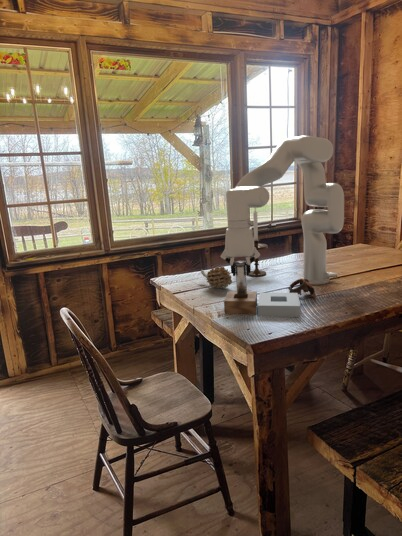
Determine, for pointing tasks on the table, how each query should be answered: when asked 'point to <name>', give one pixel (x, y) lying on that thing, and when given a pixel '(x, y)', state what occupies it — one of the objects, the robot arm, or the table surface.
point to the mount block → (240, 303)
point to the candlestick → (258, 246)
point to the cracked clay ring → (302, 287)
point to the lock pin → (241, 277)
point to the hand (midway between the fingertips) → (241, 274)
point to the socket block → (279, 305)
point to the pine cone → (218, 277)
